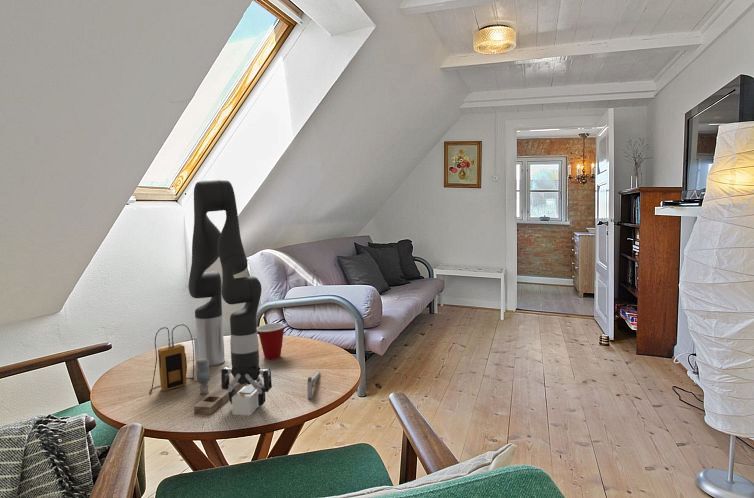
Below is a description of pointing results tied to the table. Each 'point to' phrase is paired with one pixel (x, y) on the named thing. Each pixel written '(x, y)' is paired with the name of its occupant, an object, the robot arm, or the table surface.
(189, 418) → the table surface
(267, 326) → the plastic cup
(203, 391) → the grey stepped cylinder
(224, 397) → the bar
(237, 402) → the block
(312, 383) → the caliper
